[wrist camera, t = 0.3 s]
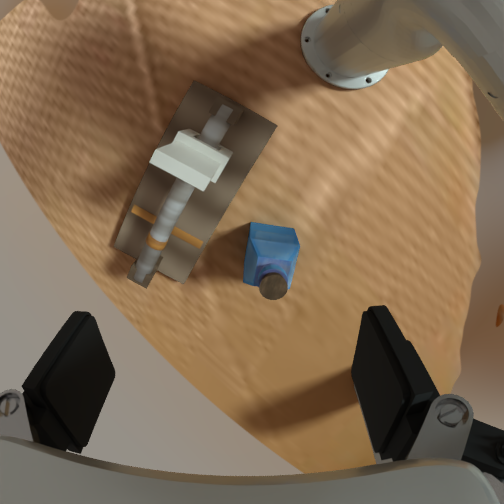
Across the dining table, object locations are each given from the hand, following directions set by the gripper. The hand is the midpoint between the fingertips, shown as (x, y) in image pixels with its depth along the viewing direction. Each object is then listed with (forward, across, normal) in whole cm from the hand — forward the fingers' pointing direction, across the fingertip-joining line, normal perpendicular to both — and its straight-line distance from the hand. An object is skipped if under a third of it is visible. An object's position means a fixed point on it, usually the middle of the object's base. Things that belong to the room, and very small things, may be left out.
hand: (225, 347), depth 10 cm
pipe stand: (+34, +8, +2) cm, 35 cm away
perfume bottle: (+34, -3, +11) cm, 36 cm away
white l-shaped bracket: (+30, +5, -3) cm, 31 cm away
